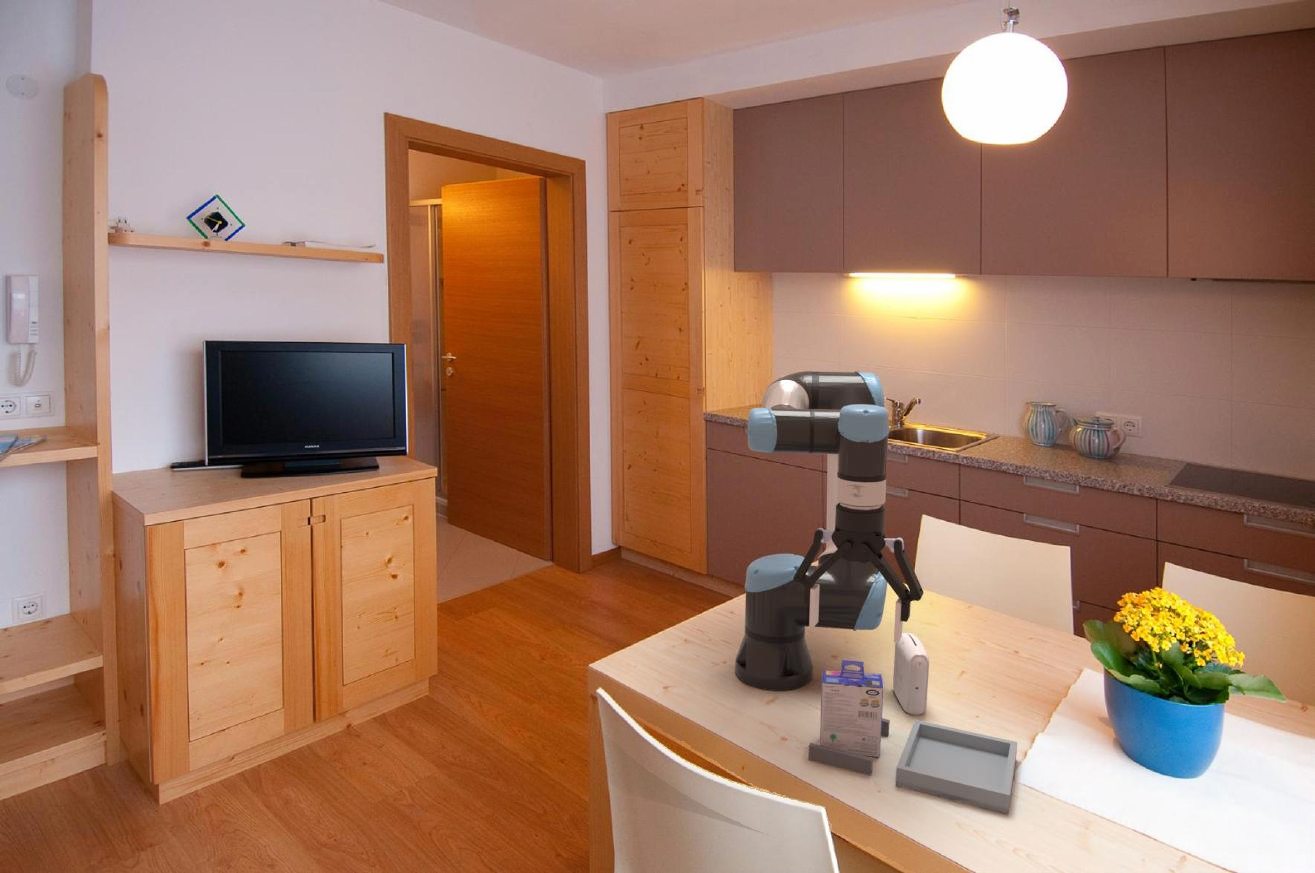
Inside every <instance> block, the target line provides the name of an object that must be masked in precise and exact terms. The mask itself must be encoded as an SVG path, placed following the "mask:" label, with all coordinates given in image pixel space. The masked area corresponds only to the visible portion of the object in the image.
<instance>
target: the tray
mask: <svg viewBox="0 0 1315 873" xmlns="http://www.w3.org/2000/svg"><path fill="white" fill-rule="evenodd" d="M1017 752H1018V741H1013V740H1009V739H1004V738H1000V737H996V736H991V735H986V734H981V733H977V732H972V731H968V730H965V729H964V730H963V729H958V728H954V727H949V726H946V725H940V724H937V723H932V722H926V721H923V720H917V719H914V722H913V724H912V727H911V730H910V732H909V735H908V737H907V739H906V743H905V745H904V747H903V750H902V752H901V755H900V758H899V760H898V763H897V765H896V771H895V786H896V787H900V788H903V787H904V789H907V790H911V789H912V791H915V792H920V793H923V792H924V793H923V794H927V795H932V796H936V797H940V798H944V799H948V800H950V801H951V800H952V801H954V800H956V801H955V802H958V801H959V803H963V804H966V803H967V804H966V805H970V806H975V807H979V808H983V809H986V810H990V809H991V811H994V810H995V811H994V812H997V813H1002V812H1004V813H1003V814H1006V813H1008V814H1009V811H1010V803H1011V797H1012V789H1013V783H1014V776H1015V769H1016V768H1015V767H1016V762H1017Z"/></svg>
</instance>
